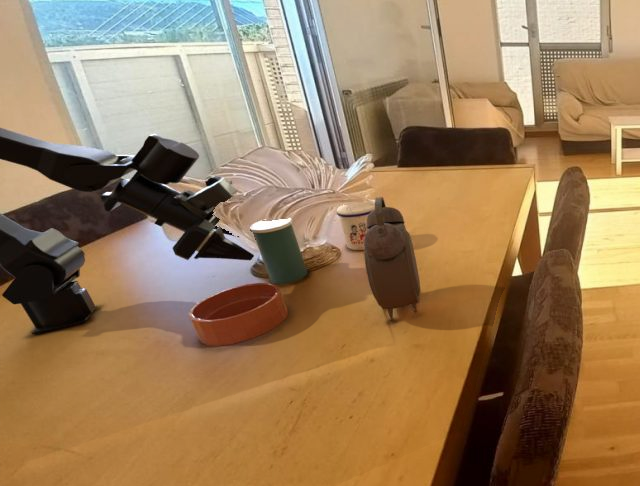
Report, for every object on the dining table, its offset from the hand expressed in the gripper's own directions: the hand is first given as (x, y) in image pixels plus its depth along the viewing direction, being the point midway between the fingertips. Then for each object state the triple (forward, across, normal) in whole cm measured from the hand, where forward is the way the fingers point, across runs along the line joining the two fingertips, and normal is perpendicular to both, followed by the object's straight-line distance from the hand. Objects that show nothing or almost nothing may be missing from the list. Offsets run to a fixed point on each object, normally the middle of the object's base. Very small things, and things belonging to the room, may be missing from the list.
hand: (258, 248), depth 91 cm
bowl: (+5, -17, +5) cm, 18 cm away
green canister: (+8, 0, +3) cm, 8 cm away
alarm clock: (+22, -22, -12) cm, 33 cm away
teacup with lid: (+18, +12, -8) cm, 23 cm away
